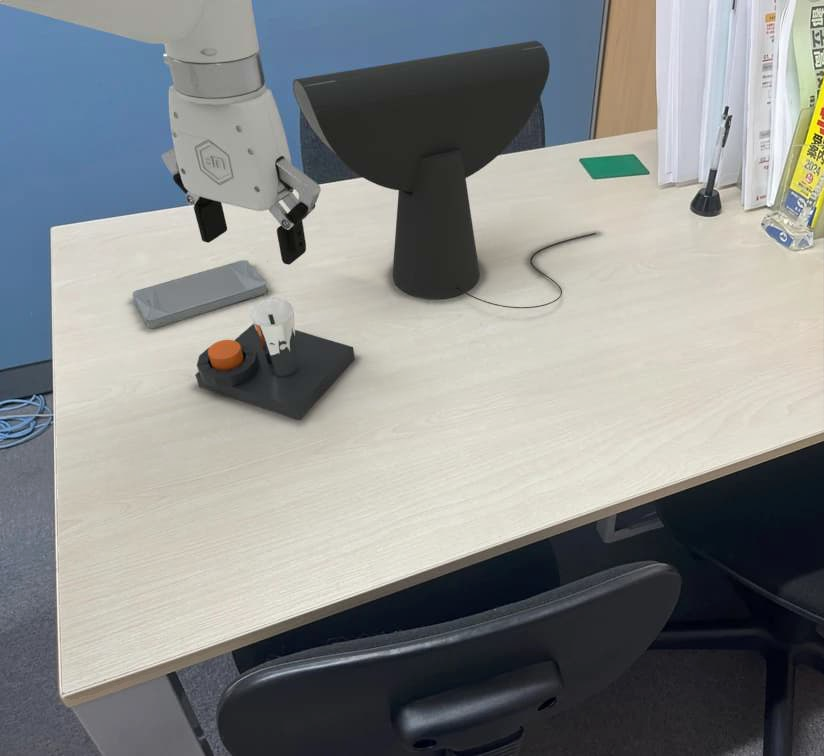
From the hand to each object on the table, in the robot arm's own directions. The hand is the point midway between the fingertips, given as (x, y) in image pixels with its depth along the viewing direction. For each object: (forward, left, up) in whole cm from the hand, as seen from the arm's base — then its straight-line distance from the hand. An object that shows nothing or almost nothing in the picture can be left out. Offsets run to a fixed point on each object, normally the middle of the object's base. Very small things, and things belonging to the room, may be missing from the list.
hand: (254, 247), depth 73 cm
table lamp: (+11, +32, -19) cm, 39 cm away
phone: (-21, +10, -19) cm, 30 cm away
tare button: (-6, -2, -16) cm, 17 cm away
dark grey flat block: (-2, +1, -19) cm, 19 cm away
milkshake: (0, 0, -17) cm, 17 cm away
